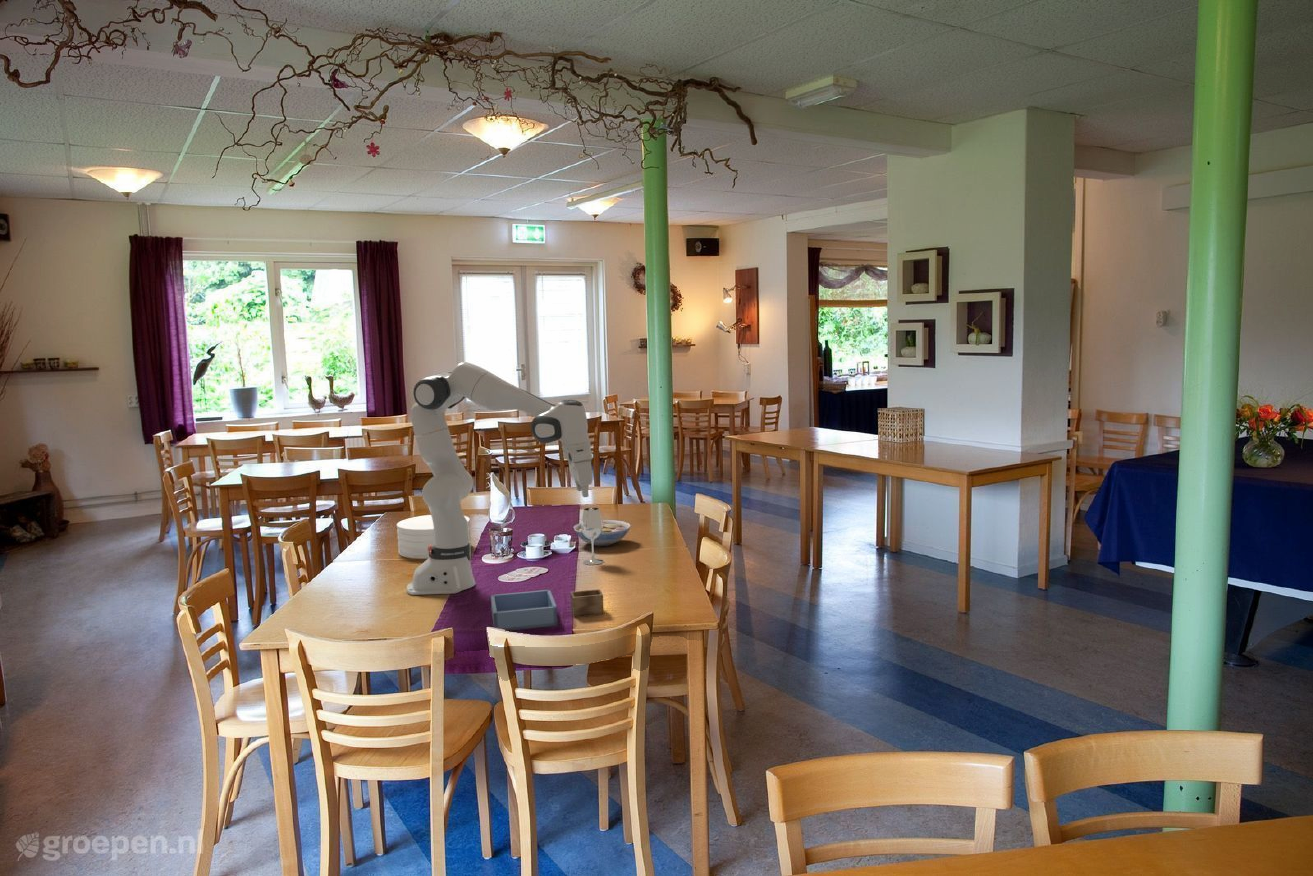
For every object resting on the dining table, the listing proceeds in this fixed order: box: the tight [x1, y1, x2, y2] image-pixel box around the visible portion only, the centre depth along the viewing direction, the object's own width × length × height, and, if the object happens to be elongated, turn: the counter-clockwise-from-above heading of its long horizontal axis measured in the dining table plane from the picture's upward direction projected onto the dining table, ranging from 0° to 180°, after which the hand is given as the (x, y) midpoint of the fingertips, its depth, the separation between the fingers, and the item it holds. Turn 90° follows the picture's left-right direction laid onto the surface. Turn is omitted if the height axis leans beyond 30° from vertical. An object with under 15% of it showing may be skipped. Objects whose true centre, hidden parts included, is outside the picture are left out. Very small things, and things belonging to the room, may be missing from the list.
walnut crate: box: [569, 588, 605, 618], centre depth 262 cm, size 9×6×6 cm, turn 103°
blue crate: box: [490, 589, 559, 631], centre depth 258 cm, size 18×18×6 cm
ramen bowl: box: [573, 519, 632, 547], centre depth 346 cm, size 25×23×8 cm
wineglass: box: [581, 506, 604, 566], centre depth 318 cm, size 8×8×20 cm
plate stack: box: [396, 514, 472, 560], centre depth 345 cm, size 28×28×12 cm
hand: (582, 493), depth 276 cm, fingers open, 8 cm apart
